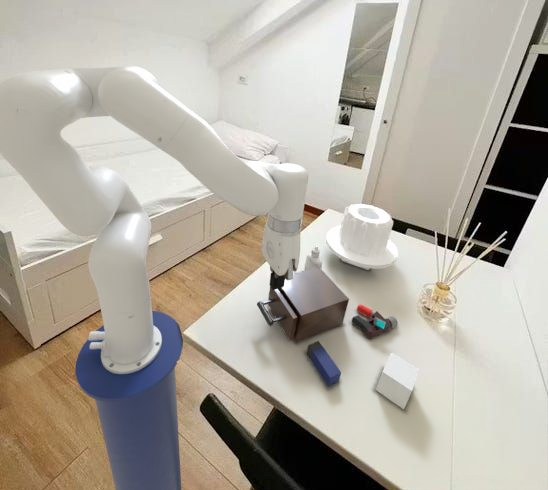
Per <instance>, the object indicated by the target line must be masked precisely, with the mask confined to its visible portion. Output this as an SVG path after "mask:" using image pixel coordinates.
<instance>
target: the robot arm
mask: <svg viewBox="0 0 548 490" xmlns="http://www.w3.org/2000/svg"><path fill="white" fill-rule="evenodd" d="M98 117H99V118H101V117H110V118H112V119H114V120H115V121H116V122H117V123H119V124H120V125H122V126H124V127H125V128H127V129H129V130H130V131H132V132H133V133H135V134H136V135H138V136H140V137H141V138H143V139H144V140H146V141H147V142H149V144H152V145H154V146H155V147H157V148H158V149H159V150H161V151H162V152H163V153H166V154H167V155H169V156H170V157H172V158H173V159H174V160H176V161H177V162H179V163H180V164H181V166H182V167H184V169H185V170H186V171H187V172H188V173H190V174H191V176H193V177H194V178H195V179H196V180H198V182H200V183H201V184H202V185H203V186H204V187H205V188H206V189H207V190H209V191H210V192H211V193H212V194H214V195H215V196H216V197H217V198H219V199H220V200H222V201H223V202H225V203H226V204H228V205H229V206H231V207H233V208H234V209H236V210H237V211H239V212H241V213H243V214H245V215H248V216H251V217H252V216H253V217H263V216H266V215H267V219H266V222H265V225H264V229H263V234H262V241H261V249H260V250H261V255H262V257H263V258H264V260H265V261H266V263H267V264H268V265H269V270H270V275H269V288H270V287H271V288H272V290H275V289H278V288H282V287H284V283H285V279H286V280H287V281H289V280H292V279H293V274H294V272H295V273H297V272H298V269H299V264H300V256H301V255H300V254H301V231H302V225H303V224H302V223H303V219H304V218H303V217H304V209H305V203H306V196H307V191H308V190H307V189H308V182H309V172H308V170H307V169H306V168H305V167H304V166H302V165H299V164H297V163H290V162H284V163H279V164H277V163H269V162H264V161H258V160H244V161H243V160H242V158H241V159H240V157H238V156H237V155H236V154H235V153H234V152H233V151H232V150H231V149H230V148H229V146H227V145H226V144H225V142H224V141H223V140H222V139H221V137H220V136H219V134H218V133H217V132H216V130H215V129H214V128H213V127H212V126H211V125H210V123H208V122H207V121H206V120H205V119H204V118H202V117H201V116H199V115H198V114H197V113H196V112H194V111H193V110H192V109H190V108H188V106H186V105H185V104H183V103H182V102H181V101H179V100H178V99H177V98H176V97H174V96H172V95H171V94H170V93H169V92H167V90H165V89H163V87H161V86H160V83H159V81H158V80H157V78H156V77H155V76H154V75H153V74H152V73H151V72H150V71H149V70H147V69H145V68H142V67H140V66H137V65H125V66H113V67H112V66H111V67H110V66H109V67H73V68H72V67H64V68H63V67H61V68H60V67H59V68H48V69H34V70H27V71H22V72H18V73H16V74H13V75H10V76H8V77H6V78H4V79H3V80H1V81H0V156H1V157H2V158H3V159H4V160H5V161H6V162H7V163H8V164H9V165H10V166H11V167H12V168H13V169H14V170H15V171H16V172H17V173H18V175H20V176H21V177H22V178H23V180H24V181H25V182H26V183H27V184H28V185H29V187H30V189H31V190H32V191H33V192H34V194H36V196H37V197H38V198H39V199H40V200H41V202H42V203H43V204H44V205H45V206H46V208H47V209H48V210H49V211H50V213H52V215H53V216H54V217H55V218H56V220H58V222H59V223H60V224H61V225H62V226H63V227H64V228H65V229H66V230H67V231H68V232H69V233H72V234H74V235H76V236H81V237H90V236H95V235H97V234H98V235H97V237H96V238H95V241H94V242H93V245H92V247H91V250H90V252H89V255H88V260H87V261H88V262H87V266H88V267H87V268H88V271H89V275H90V277H91V279H92V281H93V283H94V286H95V290H96V293H97V298H98V302H99V303H98V304H99V307H100V312H101V313H100V314H101V318H102V324H103V325H104V330H105V332H100V331H97V330H94V331H93V330H92V331H90V332H89V334H88V337H87V340H89V341H97V340H103V342H91V344H90V349H101V350H102V351H101V361H102V364H103V366H104V367H105V368H106V369H107V370H108V371H109V372H112V373H115V374H129V373H133V372H136V371H138V370H140V369H142V368H144V367H145V366H147V365H148V364H150V363H151V362H152V361H153V360H154V359H155V357H156V356H157V355H158V353H159V351H160V349H161V345H162V336H161V333H160V331H159V329H158V328H156V327H155V326H154V325H153V315H152V311H153V306H152V295H151V285H150V277H149V273H148V268H147V256H148V251H149V246H150V241H151V237H152V229H153V227H152V222H151V221H152V220H151V219H150V217H149V215H148V213H147V212H146V210H145V208H144V207H143V206H142V204H141V202H140V201H139V199H138V198H137V195H135V193H134V192H133V190H132V189H131V187H130V186H129V184H128V183H127V182H126V180H125V179H124V178H123V177H122V176H121V174H119V173H118V172H117V171H115V170H114V169H111V168H109V167H106V166H102V165H91V166H88V164H87V163H86V161H85V159H84V158H83V156H82V155H81V154H80V153H79V151H78V150H77V149H76V148H75V147H74V146H72V144H70V143H69V142H68V141H66V140H65V139H64V138H63V137H62V135H61V132H62V131H63V129H65V128H66V127H68V126H69V125H72V124H73V123H76V122H77V121H79V120H81V119H84V118H85V119H87V118H98Z"/></svg>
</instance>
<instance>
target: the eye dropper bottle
mask: <svg viewBox="0 0 548 490" xmlns="http://www.w3.org/2000/svg"><path fill="white" fill-rule="evenodd" d="M320 253H321V249H320V248H319V246H318V245H315V247H313V248H312V249H311V252H309V253H307V254H306V258H305V264H304V269H303V271H305V270H309V269H313V268H317V267H320V269H321V270H322V267H323V261H322V259H321V256H320Z"/></svg>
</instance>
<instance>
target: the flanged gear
mask: <svg viewBox="0 0 548 490" xmlns="http://www.w3.org/2000/svg"><path fill="white" fill-rule="evenodd" d="M392 218H393V217H392V214H390V213H388V212H386V211H385V210H384V209H383V208H380V207H377V206H374V205H373V204H371V205H370V204H367V203H366V204H364V203H356V204H353V203H351V204H350V205H348V206H347V207H345V209H344V211H343V214H342V219H341V222H340V225H337V226H336V225H335V226H333V227H332V228H330V229H329V230H328V231H327V233H326V235H325V243H326V246H327V248H328V249H329V250H330V252H331V253H332V254H334V255H335V256H336V257H338V258H339V259H340V260H341V262H343V263H347V264H349V265H352V266H355V267H357V268H360V269H363V270H366V271H369V270H371V269H384V268H389V267H390V266H392V265H394V264H395V263H396V261H397V259H398V256H399V250H398V248H397V246H396V244H395V243H394V242H393V240H391V239H390V237H391V236H390V235H391V233H392V229H393V226H394V220H393V219H392Z"/></svg>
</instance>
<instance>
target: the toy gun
mask: <svg viewBox="0 0 548 490" xmlns="http://www.w3.org/2000/svg"><path fill="white" fill-rule="evenodd" d="M356 309H357V311H358V312H359V313H360V314H362V315H363V316H366V317H367V318H370V319H368V320H365V319H364V318H363V317H362V316H360V315H354V316H352V319H351V323H352V324H353V325H354V326H356V327H357V328H358V329H359V330H361V331H362V332H363V333H364V335H365V337H366V338H369V339H373V338H374V337H377V336H379V335H381V334H384V333H386V332H388V331H390V329H392V328H395V327H397V326H398V325H399V324H398V322H399V321H398V319H397V318H396V317H395V316H394V315H393V316H389V317H387V318H385V317H384V316H383V315H382V314H381V313H380V312H379V311H378V310H377V311H373V309H370V308H369V307H366V306H365V305H363V304H358V305H357V308H356Z"/></svg>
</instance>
